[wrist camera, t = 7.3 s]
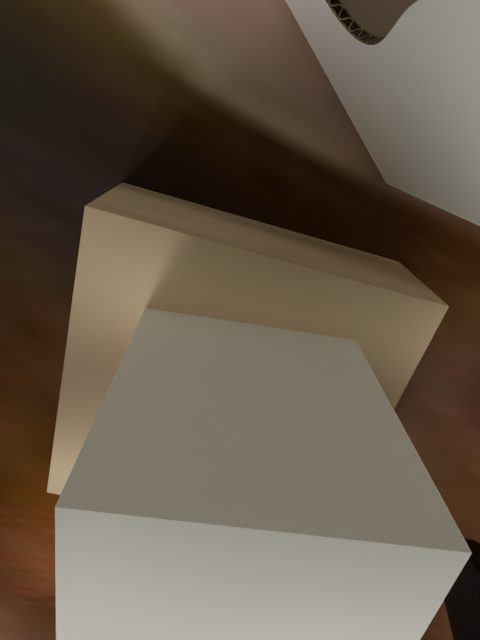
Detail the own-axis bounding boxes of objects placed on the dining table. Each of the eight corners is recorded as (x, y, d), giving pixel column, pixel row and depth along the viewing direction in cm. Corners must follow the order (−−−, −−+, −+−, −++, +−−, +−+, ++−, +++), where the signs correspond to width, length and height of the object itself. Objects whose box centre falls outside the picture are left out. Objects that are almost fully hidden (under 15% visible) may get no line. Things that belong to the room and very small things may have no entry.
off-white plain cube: (305, 491, 13) (355, 747, 8) (130, 470, 13) (56, 728, 8) (355, 339, 11) (471, 553, 6) (145, 307, 11) (55, 507, 5)
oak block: (303, 458, 18) (321, 544, 14) (86, 411, 17) (46, 492, 13) (394, 258, 14) (448, 306, 11) (125, 180, 13) (84, 205, 10)
